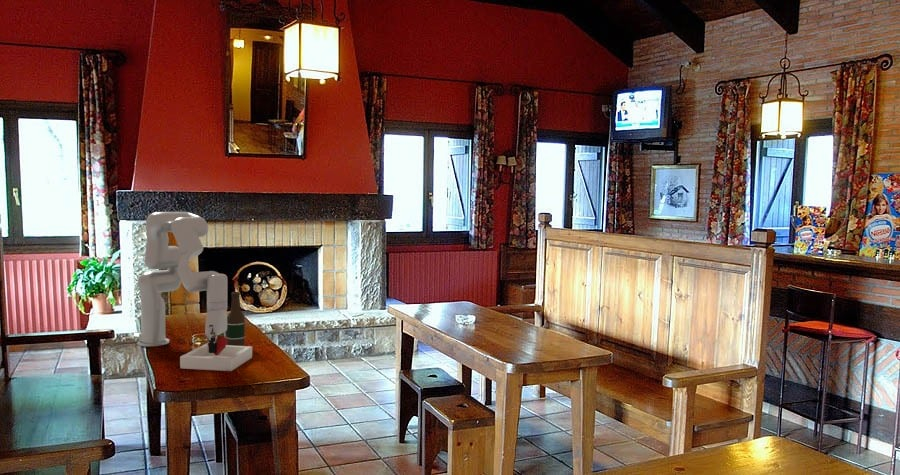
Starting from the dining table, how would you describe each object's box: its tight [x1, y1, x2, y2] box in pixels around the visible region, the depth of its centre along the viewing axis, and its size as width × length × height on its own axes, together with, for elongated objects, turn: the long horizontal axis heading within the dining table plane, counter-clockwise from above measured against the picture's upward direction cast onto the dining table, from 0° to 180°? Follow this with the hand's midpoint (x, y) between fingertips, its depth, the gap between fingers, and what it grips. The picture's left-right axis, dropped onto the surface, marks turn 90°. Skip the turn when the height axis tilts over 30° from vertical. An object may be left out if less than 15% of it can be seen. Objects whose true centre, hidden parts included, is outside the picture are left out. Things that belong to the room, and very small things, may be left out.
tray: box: [179, 343, 253, 372], centre depth 255 cm, size 20×20×4 cm
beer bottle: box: [226, 291, 246, 346], centre depth 279 cm, size 8×8×24 cm
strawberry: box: [206, 334, 227, 356], centre depth 255 cm, size 6×8×10 cm
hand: (217, 350), depth 255 cm, fingers closed on strawberry, 6 cm apart
